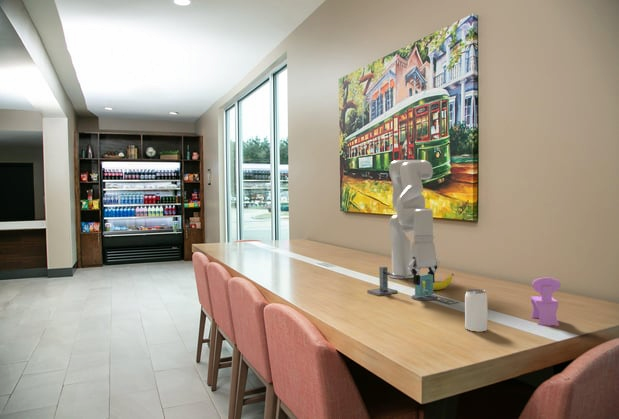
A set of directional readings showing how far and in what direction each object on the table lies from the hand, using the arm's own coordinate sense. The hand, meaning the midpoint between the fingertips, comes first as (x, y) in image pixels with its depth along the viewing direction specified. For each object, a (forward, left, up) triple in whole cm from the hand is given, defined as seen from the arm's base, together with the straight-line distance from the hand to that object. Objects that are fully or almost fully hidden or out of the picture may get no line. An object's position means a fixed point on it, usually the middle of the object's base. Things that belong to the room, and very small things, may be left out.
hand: (424, 283), depth 179 cm
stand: (+8, -12, -6) cm, 16 cm away
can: (+15, +39, -6) cm, 42 cm away
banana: (-14, -8, -6) cm, 17 cm away
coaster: (0, 0, -6) cm, 6 cm away
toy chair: (-10, +45, -6) cm, 47 cm away
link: (0, 0, -5) cm, 5 cm away
